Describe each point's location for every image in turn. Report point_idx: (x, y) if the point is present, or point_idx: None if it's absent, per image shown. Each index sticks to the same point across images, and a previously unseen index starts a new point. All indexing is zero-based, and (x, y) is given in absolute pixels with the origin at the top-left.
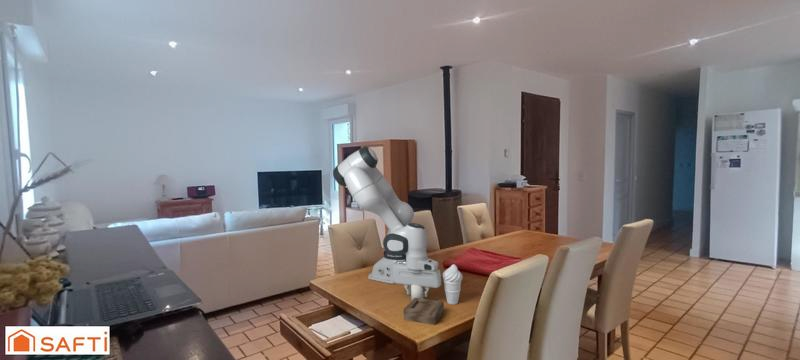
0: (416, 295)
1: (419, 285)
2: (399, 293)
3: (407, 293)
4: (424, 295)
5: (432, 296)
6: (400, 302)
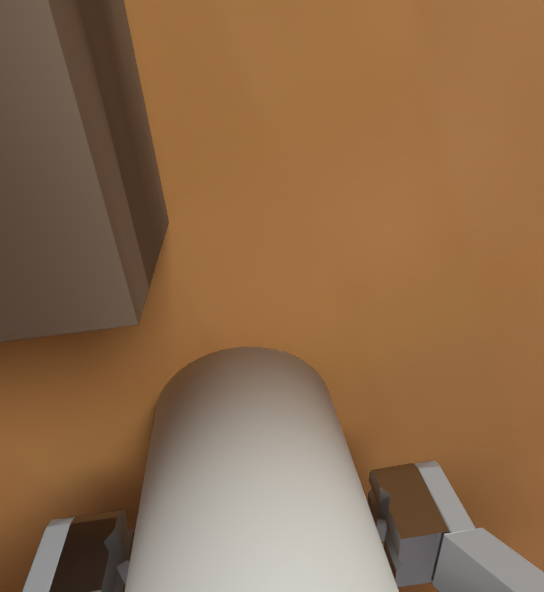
0: (212, 474)
1: None
2: (538, 499)
3: (436, 478)
4: (73, 539)
5: None
6: (474, 299)
